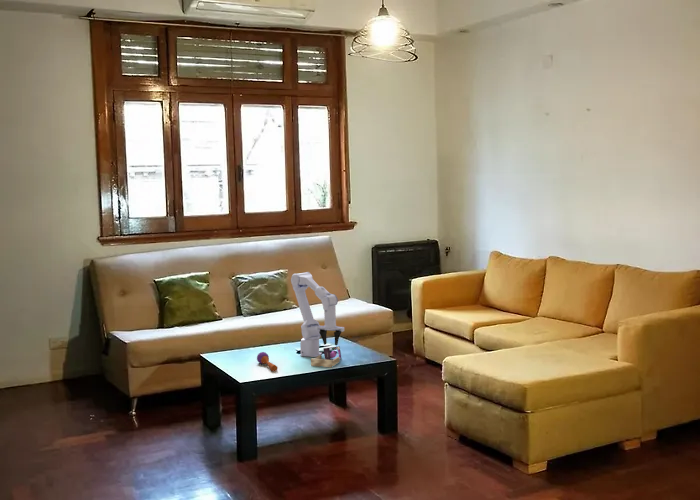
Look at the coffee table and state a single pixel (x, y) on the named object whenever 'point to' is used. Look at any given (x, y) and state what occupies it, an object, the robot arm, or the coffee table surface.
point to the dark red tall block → (332, 354)
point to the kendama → (266, 360)
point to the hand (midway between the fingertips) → (330, 344)
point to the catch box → (324, 361)
